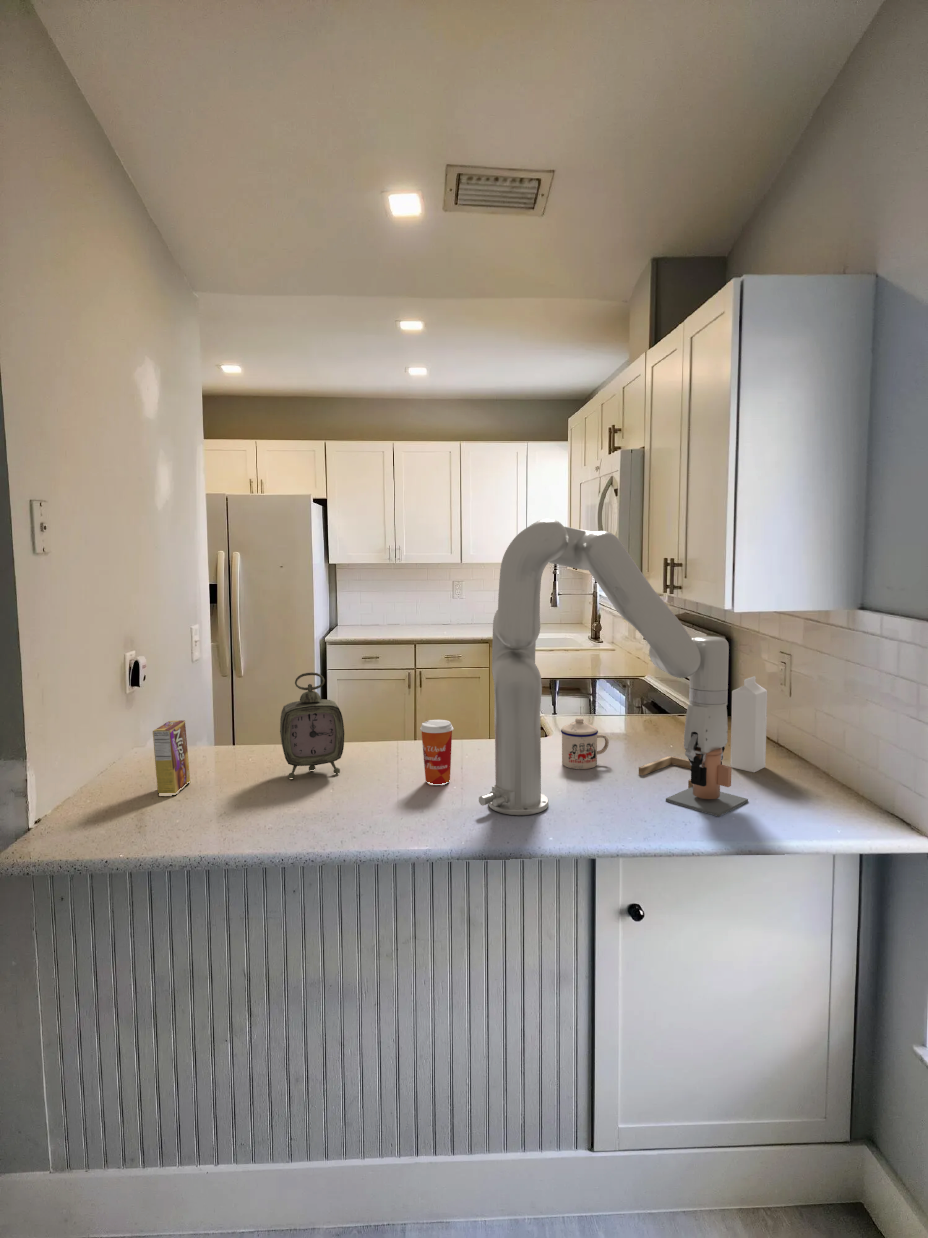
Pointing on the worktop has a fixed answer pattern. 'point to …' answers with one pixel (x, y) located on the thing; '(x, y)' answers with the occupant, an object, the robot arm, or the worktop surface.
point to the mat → (707, 802)
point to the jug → (713, 776)
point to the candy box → (171, 756)
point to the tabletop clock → (311, 730)
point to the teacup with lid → (581, 745)
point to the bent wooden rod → (663, 763)
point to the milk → (749, 726)
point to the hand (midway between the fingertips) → (706, 780)
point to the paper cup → (437, 750)
